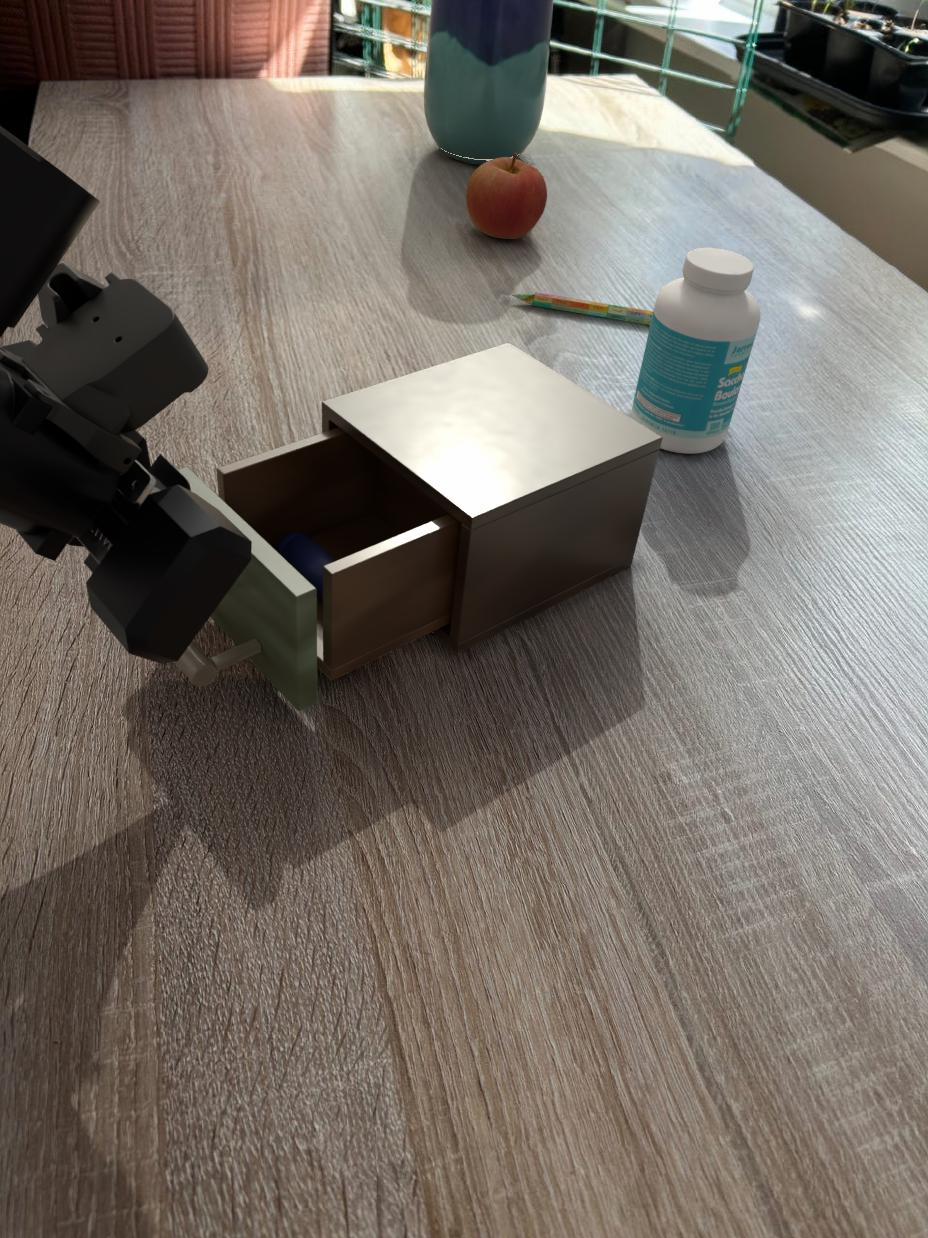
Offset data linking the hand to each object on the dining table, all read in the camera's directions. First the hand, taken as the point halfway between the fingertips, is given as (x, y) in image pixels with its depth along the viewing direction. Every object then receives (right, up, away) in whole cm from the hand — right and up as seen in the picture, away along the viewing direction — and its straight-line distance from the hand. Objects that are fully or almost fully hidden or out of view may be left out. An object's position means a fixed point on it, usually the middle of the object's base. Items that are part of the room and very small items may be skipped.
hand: (218, 549), depth 53 cm
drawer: (+3, -3, +7) cm, 9 cm away
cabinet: (+13, +1, +15) cm, 20 cm away
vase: (+14, +51, +73) cm, 90 cm away
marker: (+4, -2, +6) cm, 7 cm away
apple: (+16, +35, +55) cm, 67 cm away
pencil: (+25, +23, +42) cm, 54 cm away
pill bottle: (+29, +11, +28) cm, 41 cm away
